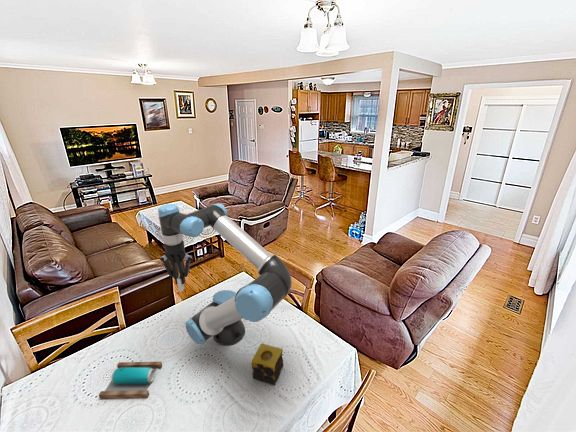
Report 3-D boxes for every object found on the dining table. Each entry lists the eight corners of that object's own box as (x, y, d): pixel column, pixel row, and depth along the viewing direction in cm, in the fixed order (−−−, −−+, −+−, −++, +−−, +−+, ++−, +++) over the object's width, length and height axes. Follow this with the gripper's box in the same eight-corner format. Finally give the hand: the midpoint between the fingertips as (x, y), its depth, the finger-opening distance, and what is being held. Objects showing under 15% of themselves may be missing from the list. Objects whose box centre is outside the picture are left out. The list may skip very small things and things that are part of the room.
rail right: (162, 365, 122) (161, 361, 121) (160, 368, 121) (159, 364, 120) (120, 366, 122) (118, 362, 121) (118, 369, 120) (116, 365, 119)
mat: (155, 369, 120) (155, 368, 120) (144, 394, 110) (144, 393, 110) (117, 370, 120) (117, 369, 120) (102, 395, 110) (102, 394, 110)
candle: (283, 365, 122) (283, 348, 118) (275, 386, 113) (274, 368, 109) (262, 359, 125) (261, 342, 121) (252, 378, 116) (251, 361, 113)
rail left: (149, 394, 110) (148, 390, 109) (147, 398, 108) (146, 393, 108) (102, 395, 109) (100, 391, 109) (100, 399, 108) (98, 394, 107)
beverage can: (156, 365, 117) (120, 365, 117) (149, 370, 112) (111, 370, 112) (155, 380, 116) (118, 380, 116) (148, 386, 111) (110, 386, 111)
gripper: (192, 237, 119) (198, 284, 128) (161, 237, 119) (169, 284, 127) (186, 245, 112) (194, 294, 121) (153, 246, 112) (163, 295, 120)
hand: (181, 289), depth 124 cm, fingers closed
